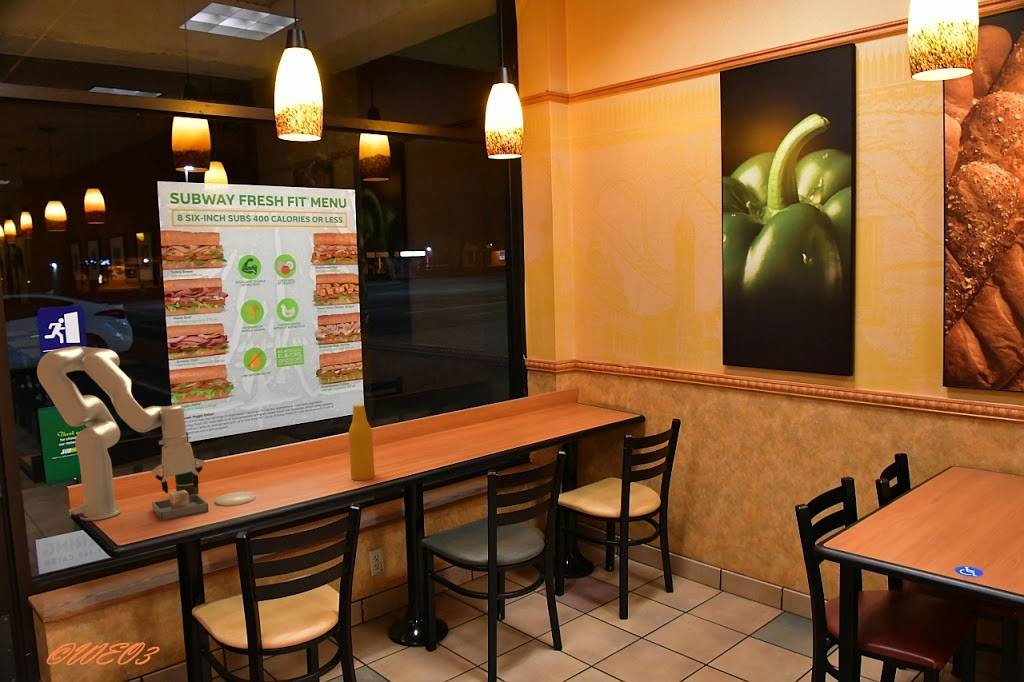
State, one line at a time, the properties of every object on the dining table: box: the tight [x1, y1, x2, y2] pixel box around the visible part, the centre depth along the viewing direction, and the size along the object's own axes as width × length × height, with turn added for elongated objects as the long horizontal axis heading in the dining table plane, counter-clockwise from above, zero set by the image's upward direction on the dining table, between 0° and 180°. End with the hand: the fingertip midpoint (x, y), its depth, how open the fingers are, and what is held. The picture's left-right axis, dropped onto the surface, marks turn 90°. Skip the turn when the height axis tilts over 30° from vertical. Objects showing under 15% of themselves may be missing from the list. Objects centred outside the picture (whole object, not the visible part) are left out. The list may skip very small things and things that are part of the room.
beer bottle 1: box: [174, 431, 200, 495], centre depth 290 cm, size 8×8×24 cm
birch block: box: [169, 490, 189, 510], centre depth 270 cm, size 5×5×6 cm
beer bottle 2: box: [348, 404, 376, 482], centre depth 304 cm, size 9×9×29 cm
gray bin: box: [151, 493, 209, 522], centre depth 270 cm, size 15×15×3 cm
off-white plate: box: [214, 491, 257, 507], centre depth 281 cm, size 14×14×1 cm
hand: (181, 489), depth 270 cm, fingers open, 9 cm apart
